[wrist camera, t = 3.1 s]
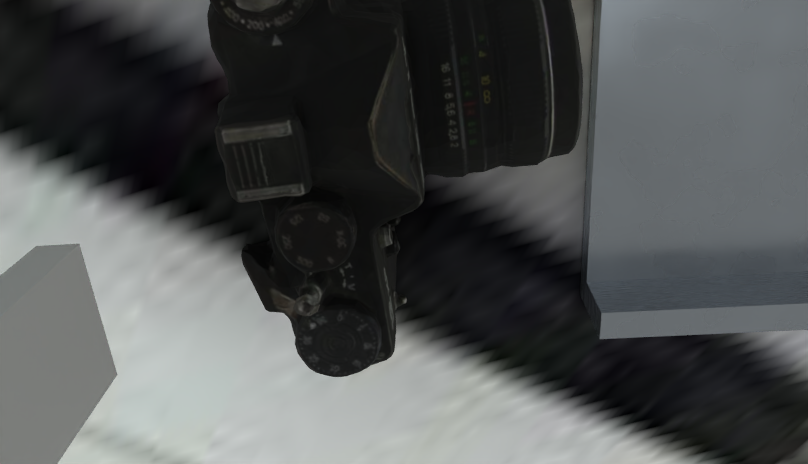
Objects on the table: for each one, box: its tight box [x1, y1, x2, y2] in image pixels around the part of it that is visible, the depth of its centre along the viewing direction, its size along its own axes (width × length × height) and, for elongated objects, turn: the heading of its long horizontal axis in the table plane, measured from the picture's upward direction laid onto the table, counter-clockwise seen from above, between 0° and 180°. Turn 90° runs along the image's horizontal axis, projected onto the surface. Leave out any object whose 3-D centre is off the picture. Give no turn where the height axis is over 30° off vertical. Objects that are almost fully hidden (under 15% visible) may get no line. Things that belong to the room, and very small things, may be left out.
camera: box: [208, 0, 583, 377], centre depth 22 cm, size 14×11×10 cm
